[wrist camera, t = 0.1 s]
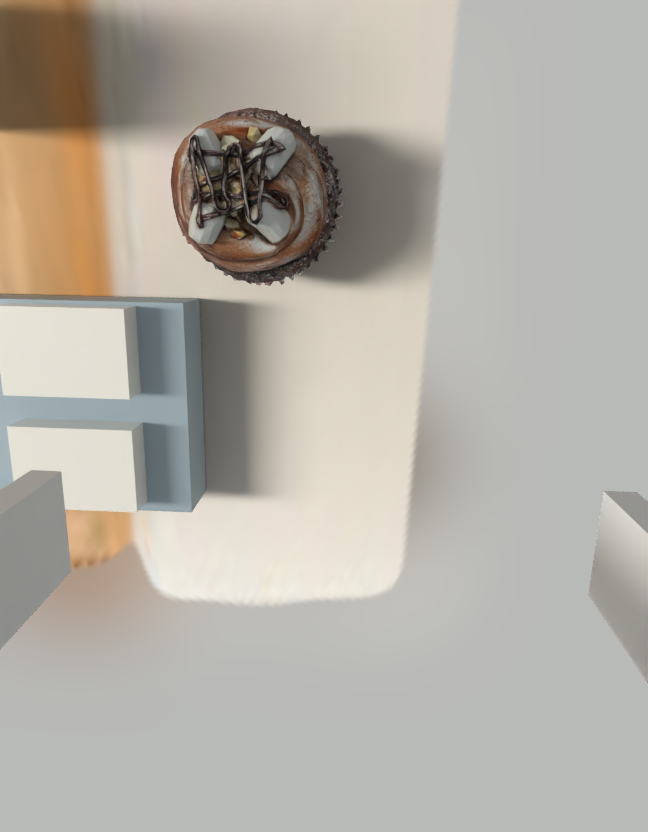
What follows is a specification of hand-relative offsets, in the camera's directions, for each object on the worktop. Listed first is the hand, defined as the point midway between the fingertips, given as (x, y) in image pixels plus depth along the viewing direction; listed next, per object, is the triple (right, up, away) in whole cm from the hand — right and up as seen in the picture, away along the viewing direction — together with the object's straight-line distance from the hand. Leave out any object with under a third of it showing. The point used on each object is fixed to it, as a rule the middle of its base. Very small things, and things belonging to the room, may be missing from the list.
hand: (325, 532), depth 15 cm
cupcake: (-3, +17, +25) cm, 30 cm away
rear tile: (-16, 0, +26) cm, 30 cm away
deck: (-17, +4, +29) cm, 33 cm away
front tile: (-16, +7, +24) cm, 29 cm away
